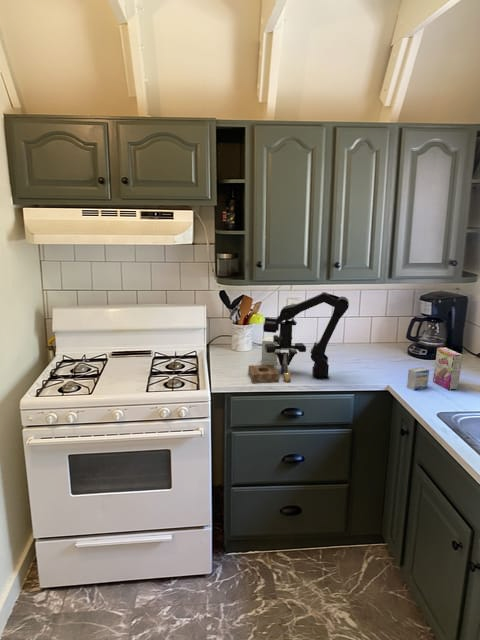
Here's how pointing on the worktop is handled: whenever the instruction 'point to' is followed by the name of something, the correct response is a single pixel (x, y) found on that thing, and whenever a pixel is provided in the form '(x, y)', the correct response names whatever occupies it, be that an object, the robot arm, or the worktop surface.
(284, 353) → the long pin
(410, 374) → the medicine box
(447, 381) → the candy bar box
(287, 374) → the short pin
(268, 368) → the hole block
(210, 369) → the worktop surface
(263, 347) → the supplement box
